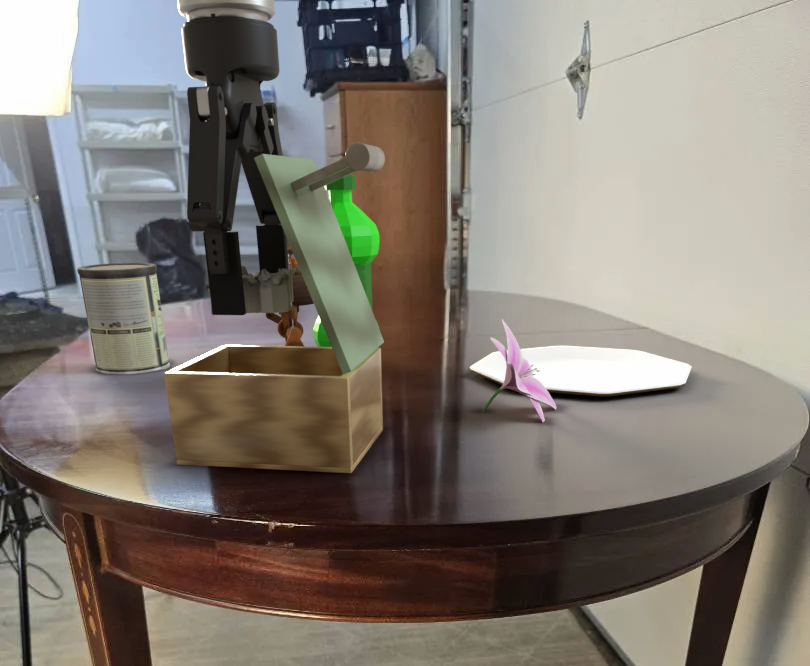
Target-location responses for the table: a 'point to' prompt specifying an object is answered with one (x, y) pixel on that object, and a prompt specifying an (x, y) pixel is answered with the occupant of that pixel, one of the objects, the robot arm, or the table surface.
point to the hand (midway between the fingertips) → (254, 305)
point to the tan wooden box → (274, 408)
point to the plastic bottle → (351, 240)
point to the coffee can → (124, 317)
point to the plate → (592, 370)
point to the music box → (292, 307)
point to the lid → (325, 246)
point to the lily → (521, 375)
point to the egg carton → (267, 291)
